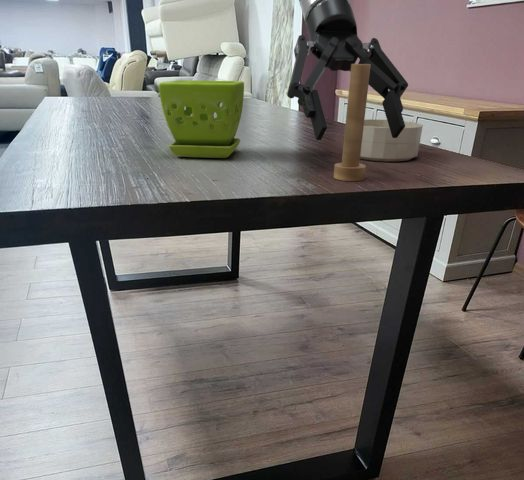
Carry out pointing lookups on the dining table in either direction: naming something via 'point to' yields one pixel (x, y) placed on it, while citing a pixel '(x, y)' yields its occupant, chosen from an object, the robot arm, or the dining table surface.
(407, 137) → the bowl
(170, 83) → the flower pot
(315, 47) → the robot arm
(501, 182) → the dining table surface
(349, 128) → the muddler
